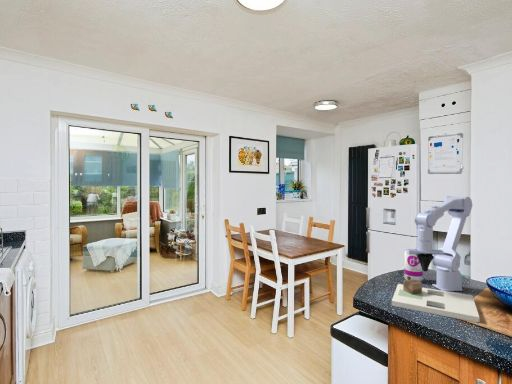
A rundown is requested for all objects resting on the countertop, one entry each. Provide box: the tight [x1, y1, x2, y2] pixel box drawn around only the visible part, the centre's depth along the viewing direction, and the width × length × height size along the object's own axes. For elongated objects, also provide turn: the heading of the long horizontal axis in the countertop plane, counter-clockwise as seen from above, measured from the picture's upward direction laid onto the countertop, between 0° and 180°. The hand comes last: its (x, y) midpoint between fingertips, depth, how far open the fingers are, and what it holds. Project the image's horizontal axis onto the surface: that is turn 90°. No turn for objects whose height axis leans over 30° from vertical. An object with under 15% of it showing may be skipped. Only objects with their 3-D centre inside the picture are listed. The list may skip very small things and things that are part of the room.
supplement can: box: [403, 249, 424, 283], centre depth 145 cm, size 8×8×15 cm
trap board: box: [391, 283, 480, 323], centre depth 118 cm, size 28×23×2 cm
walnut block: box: [402, 279, 423, 295], centre depth 125 cm, size 5×5×4 cm
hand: (424, 270), depth 127 cm, fingers closed
